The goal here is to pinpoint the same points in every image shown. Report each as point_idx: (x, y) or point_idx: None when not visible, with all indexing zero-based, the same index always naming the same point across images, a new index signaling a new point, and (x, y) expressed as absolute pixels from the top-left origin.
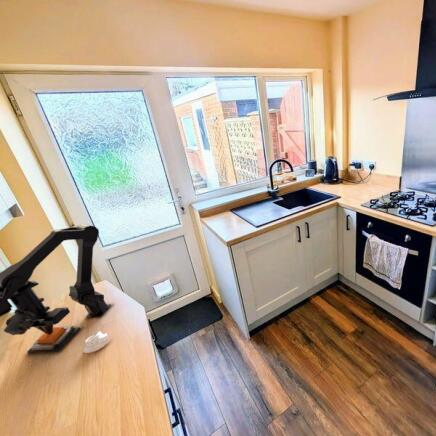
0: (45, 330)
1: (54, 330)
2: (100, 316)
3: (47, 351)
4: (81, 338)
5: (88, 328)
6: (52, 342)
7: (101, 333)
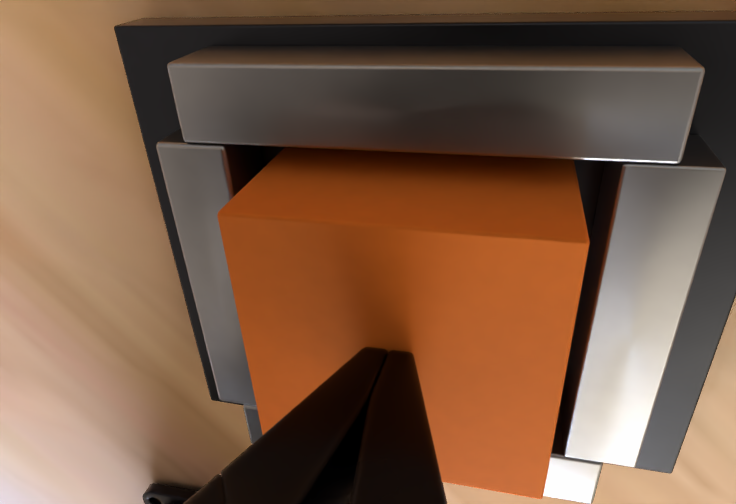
0: (295, 452)
1: None
2: (151, 484)
3: (322, 19)
4: (62, 230)
5: (136, 363)
6: (266, 172)
7: None
